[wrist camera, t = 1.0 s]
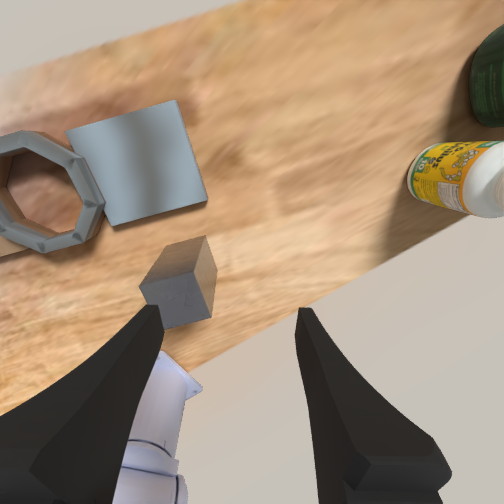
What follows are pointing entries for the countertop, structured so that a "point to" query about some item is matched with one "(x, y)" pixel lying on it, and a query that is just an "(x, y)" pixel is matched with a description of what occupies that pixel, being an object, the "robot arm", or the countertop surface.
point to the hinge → (106, 174)
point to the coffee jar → (488, 80)
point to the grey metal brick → (182, 282)
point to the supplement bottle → (461, 177)
